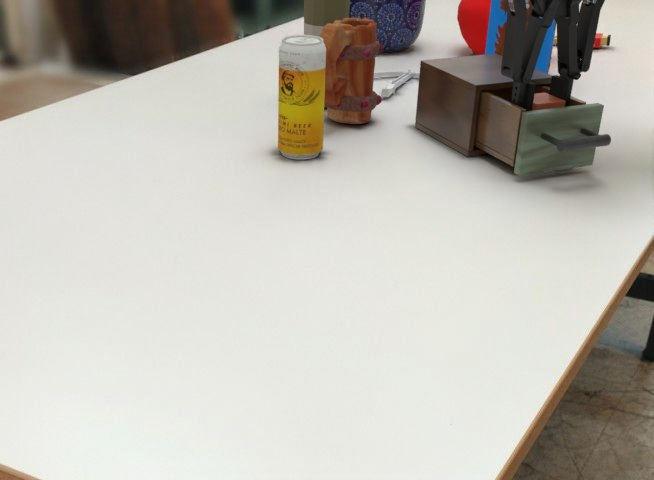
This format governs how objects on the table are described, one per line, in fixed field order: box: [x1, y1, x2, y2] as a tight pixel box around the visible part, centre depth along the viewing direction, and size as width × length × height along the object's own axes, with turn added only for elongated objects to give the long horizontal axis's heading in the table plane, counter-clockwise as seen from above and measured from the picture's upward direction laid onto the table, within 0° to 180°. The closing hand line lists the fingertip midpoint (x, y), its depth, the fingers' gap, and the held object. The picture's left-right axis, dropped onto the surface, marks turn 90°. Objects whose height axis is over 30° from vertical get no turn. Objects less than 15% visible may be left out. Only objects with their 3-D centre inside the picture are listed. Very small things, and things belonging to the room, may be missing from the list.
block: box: [532, 92, 565, 111], centre depth 121 cm, size 4×4×4 cm
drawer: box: [474, 84, 612, 177], centre depth 121 cm, size 18×11×8 cm, turn 22°
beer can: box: [277, 34, 326, 161], centre depth 123 cm, size 6×6×15 cm
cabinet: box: [414, 53, 553, 158], centre depth 132 cm, size 15×13×10 cm
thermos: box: [485, 0, 557, 74], centre depth 152 cm, size 11×11×25 cm
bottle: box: [303, 0, 350, 109], centre depth 140 cm, size 7×7×30 cm
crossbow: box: [374, 69, 420, 98], centre depth 157 cm, size 16×13×2 cm
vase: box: [456, 0, 491, 55], centre depth 173 cm, size 18×18×19 cm
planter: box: [349, 0, 427, 54], centre depth 179 cm, size 17×17×15 cm
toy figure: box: [553, 32, 612, 49], centre depth 185 cm, size 2×7×12 cm
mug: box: [320, 18, 384, 125], centre depth 135 cm, size 15×8×15 cm, turn 149°
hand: (536, 129), depth 122 cm, fingers closed on block, 4 cm apart
